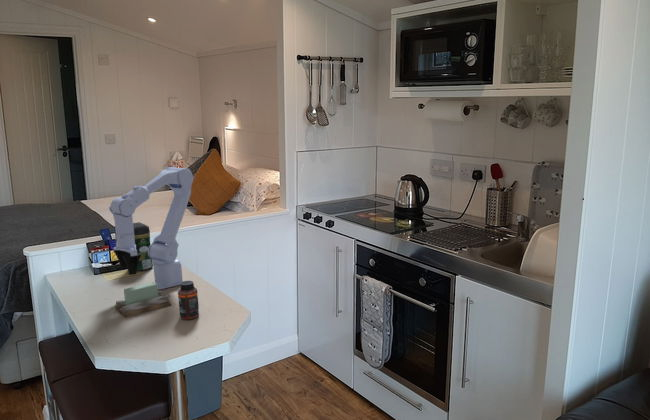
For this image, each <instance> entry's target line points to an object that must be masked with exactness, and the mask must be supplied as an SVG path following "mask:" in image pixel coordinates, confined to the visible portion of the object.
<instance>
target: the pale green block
mask: <svg viewBox="0 0 650 420" xmlns="http://www.w3.org/2000/svg"><path fill="white" fill-rule="evenodd" d="M154 282H155V281H153V282H149V283H144V284H140V285H136V286H135V285H134V286H132V287H128V288H124V289H123V294H124V299H125V306H126V305H130V304H134V303H138V302H142V301H145V300H149V299H153V298H157V297H158V291H159V289H158V287H157V284H156V283H154Z"/></svg>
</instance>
